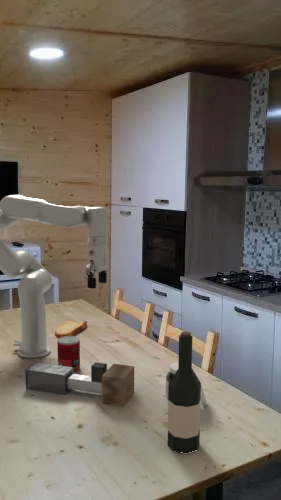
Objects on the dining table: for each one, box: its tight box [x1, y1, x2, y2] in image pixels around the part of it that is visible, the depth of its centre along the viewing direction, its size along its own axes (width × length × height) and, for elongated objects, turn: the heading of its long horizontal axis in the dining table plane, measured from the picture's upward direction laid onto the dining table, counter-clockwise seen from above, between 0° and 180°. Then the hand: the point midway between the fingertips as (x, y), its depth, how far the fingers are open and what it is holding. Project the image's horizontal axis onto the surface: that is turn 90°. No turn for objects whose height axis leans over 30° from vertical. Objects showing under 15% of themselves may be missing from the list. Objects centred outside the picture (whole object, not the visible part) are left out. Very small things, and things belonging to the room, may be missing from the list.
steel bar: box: [66, 362, 108, 395], centre depth 149 cm, size 20×4×9 cm, turn 72°
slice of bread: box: [54, 319, 88, 339], centre depth 211 cm, size 18×18×4 cm
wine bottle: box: [167, 331, 202, 454], centre depth 119 cm, size 8×8×30 cm
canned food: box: [56, 336, 81, 373], centre depth 168 cm, size 8×8×11 cm
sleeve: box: [25, 361, 74, 396], centre depth 153 cm, size 14×6×7 cm, turn 72°
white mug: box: [165, 361, 208, 407], centre depth 143 cm, size 12×11×12 cm
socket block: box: [101, 363, 135, 408], centre depth 146 cm, size 7×10×9 cm
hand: (97, 285), depth 177 cm, fingers open, 9 cm apart
